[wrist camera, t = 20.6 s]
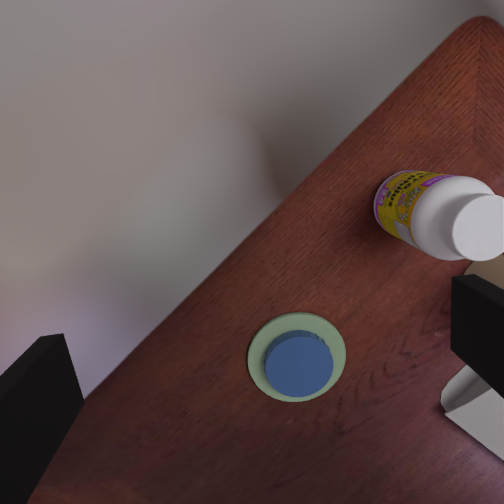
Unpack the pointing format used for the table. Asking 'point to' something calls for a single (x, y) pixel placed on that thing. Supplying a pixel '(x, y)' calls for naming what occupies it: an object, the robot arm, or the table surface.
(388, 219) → the supplement bottle
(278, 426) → the table surface
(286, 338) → the jar lid
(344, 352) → the coaster
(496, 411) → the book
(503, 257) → the jar
